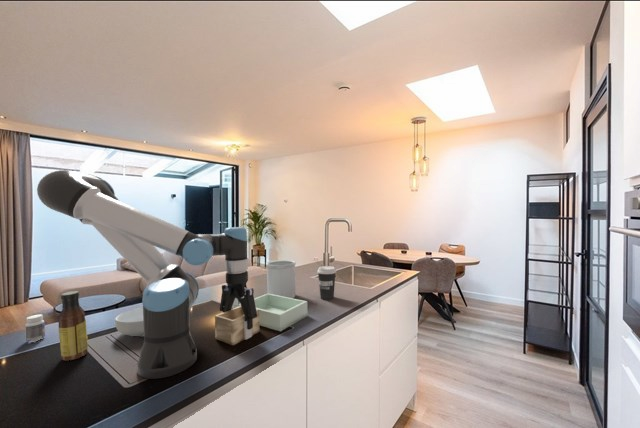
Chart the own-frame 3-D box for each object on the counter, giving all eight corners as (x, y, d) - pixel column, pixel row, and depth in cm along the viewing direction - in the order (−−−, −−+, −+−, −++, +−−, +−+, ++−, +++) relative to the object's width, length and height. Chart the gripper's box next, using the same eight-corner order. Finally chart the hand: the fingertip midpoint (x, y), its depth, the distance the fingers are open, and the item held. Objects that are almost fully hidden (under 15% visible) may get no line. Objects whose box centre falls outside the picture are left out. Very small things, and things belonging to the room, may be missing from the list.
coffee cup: (314, 296, 141) (313, 266, 140) (331, 293, 145) (330, 265, 144) (322, 302, 132) (322, 270, 132) (340, 299, 136) (339, 268, 136)
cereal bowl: (180, 325, 108) (179, 307, 108) (142, 345, 92) (141, 324, 92) (145, 321, 113) (144, 303, 112) (103, 339, 97) (102, 319, 96)
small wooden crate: (232, 345, 91) (232, 321, 91) (215, 338, 96) (214, 315, 96) (259, 331, 101) (259, 309, 101) (242, 326, 106) (241, 305, 106)
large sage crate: (280, 331, 101) (280, 314, 101) (238, 319, 113) (238, 304, 113) (307, 315, 115) (307, 301, 115) (268, 306, 127) (267, 293, 127)
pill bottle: (47, 339, 98) (46, 315, 98) (28, 344, 94) (27, 320, 94) (42, 336, 100) (41, 312, 100) (23, 341, 96) (22, 317, 96)
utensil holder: (261, 300, 136) (260, 264, 135) (273, 291, 150) (273, 259, 150) (290, 302, 132) (289, 265, 132) (299, 293, 147) (299, 260, 146)
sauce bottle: (85, 349, 90) (83, 288, 90) (90, 355, 86) (88, 291, 86) (57, 357, 85) (55, 293, 85) (61, 365, 81) (59, 296, 81)
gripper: (267, 272, 95) (268, 337, 96) (225, 266, 107) (226, 324, 108) (251, 277, 89) (252, 346, 89) (207, 270, 101) (209, 331, 101)
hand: (238, 334), depth 99 cm, fingers open, 9 cm apart
